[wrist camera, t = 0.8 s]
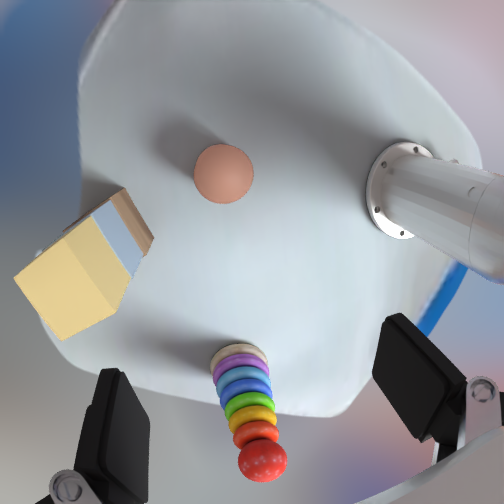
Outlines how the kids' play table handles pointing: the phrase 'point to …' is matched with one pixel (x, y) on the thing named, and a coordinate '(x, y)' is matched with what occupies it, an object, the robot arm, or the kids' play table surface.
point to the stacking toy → (249, 410)
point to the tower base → (128, 219)
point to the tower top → (75, 281)
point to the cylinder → (223, 173)
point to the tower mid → (114, 236)
